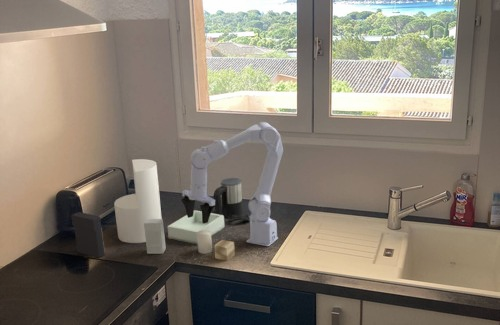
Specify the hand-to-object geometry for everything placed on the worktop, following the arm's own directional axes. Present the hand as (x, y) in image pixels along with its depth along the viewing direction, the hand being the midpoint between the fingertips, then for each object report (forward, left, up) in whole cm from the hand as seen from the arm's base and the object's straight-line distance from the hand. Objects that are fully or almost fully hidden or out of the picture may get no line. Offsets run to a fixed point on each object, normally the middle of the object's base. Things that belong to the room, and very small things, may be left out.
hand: (197, 219), depth 193 cm
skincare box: (+13, +8, -12) cm, 20 cm away
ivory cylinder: (-3, 0, -11) cm, 12 cm away
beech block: (-12, +1, -12) cm, 16 cm away
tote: (+9, -12, -11) cm, 19 cm away
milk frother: (+3, -32, -12) cm, 34 cm away
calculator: (+34, +20, -12) cm, 41 cm away
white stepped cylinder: (+29, -2, -12) cm, 32 cm away
